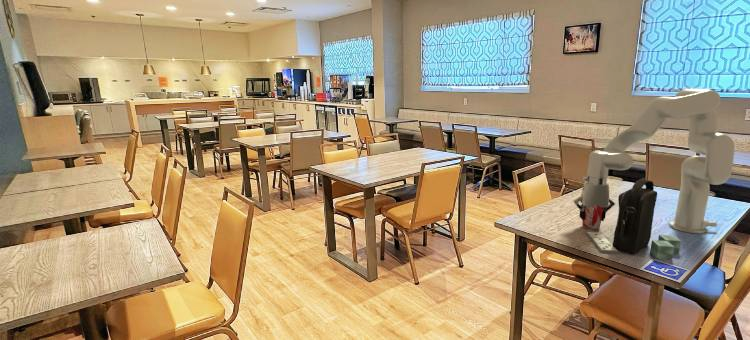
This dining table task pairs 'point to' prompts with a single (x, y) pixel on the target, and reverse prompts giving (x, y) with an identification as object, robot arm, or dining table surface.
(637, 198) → the shoulder bag
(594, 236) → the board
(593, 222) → the soda can
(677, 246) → the pale green cube
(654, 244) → the sage green cube
